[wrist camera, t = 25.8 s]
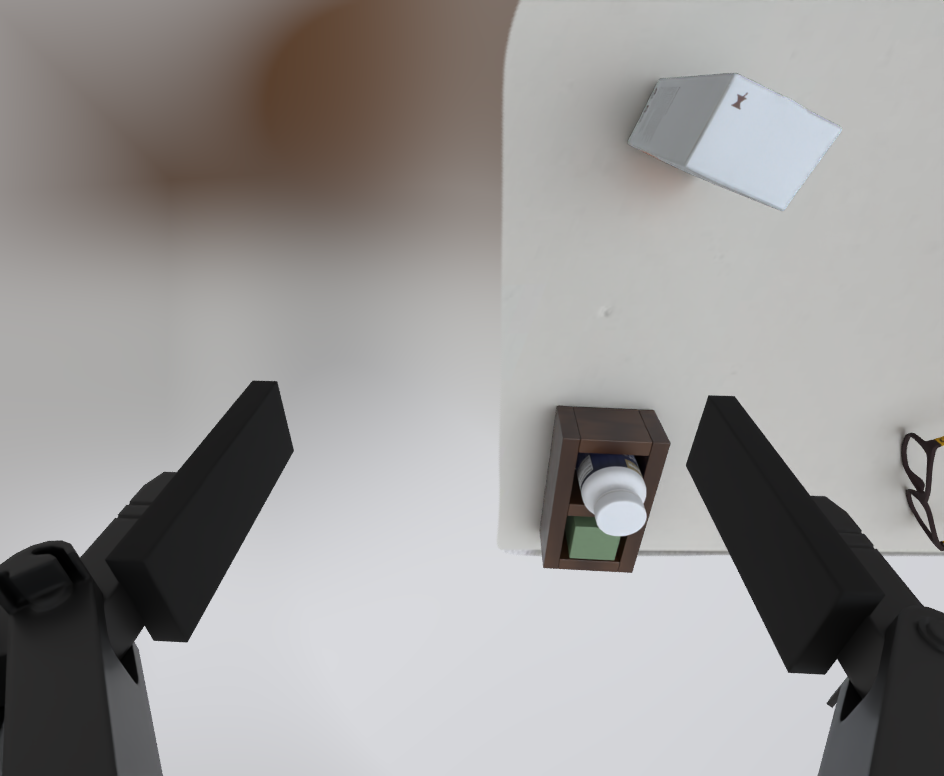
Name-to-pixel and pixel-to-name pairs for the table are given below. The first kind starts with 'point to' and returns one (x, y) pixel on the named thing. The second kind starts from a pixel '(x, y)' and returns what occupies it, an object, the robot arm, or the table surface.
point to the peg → (589, 539)
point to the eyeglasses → (919, 484)
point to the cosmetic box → (734, 135)
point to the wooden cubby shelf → (562, 490)
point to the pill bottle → (612, 491)
